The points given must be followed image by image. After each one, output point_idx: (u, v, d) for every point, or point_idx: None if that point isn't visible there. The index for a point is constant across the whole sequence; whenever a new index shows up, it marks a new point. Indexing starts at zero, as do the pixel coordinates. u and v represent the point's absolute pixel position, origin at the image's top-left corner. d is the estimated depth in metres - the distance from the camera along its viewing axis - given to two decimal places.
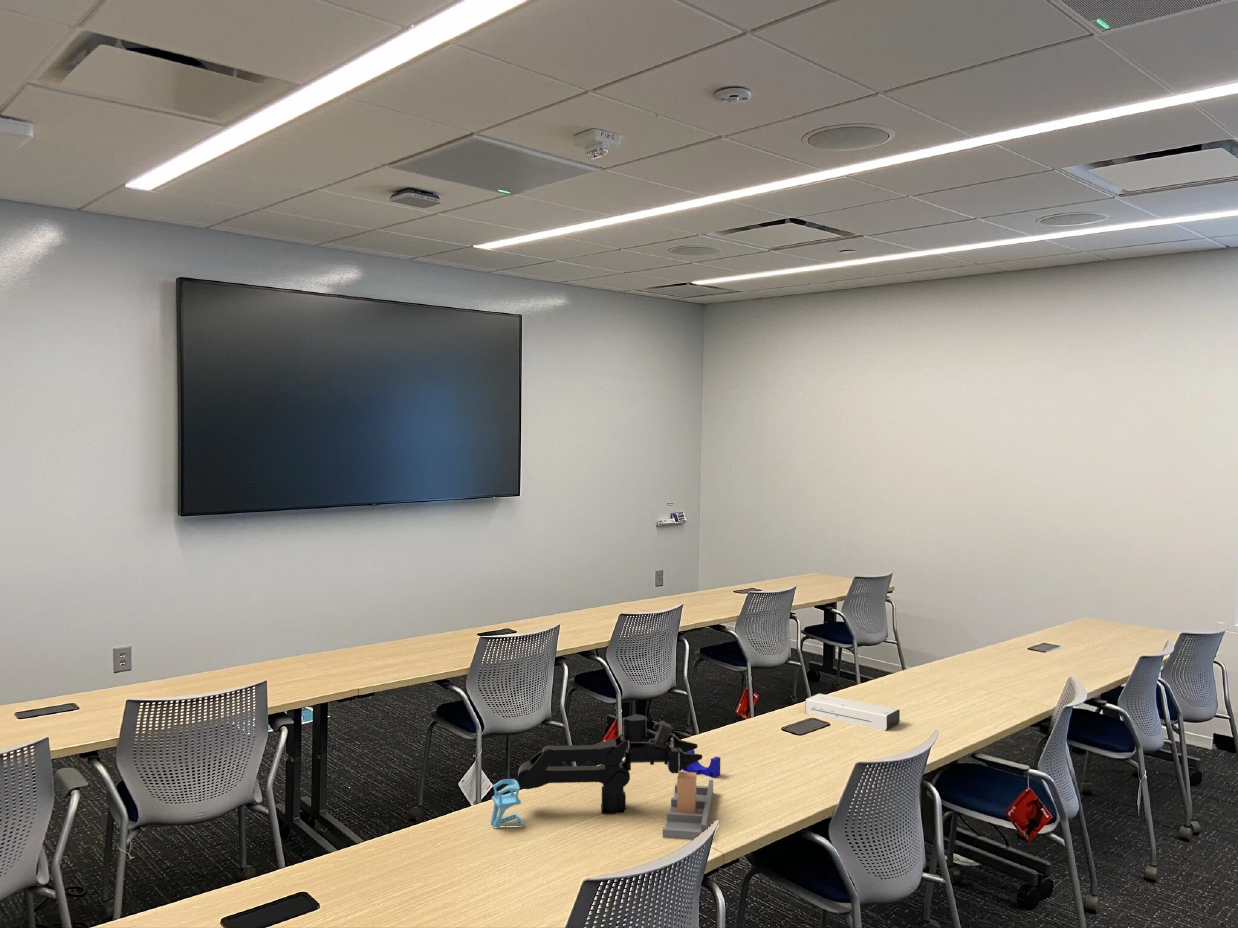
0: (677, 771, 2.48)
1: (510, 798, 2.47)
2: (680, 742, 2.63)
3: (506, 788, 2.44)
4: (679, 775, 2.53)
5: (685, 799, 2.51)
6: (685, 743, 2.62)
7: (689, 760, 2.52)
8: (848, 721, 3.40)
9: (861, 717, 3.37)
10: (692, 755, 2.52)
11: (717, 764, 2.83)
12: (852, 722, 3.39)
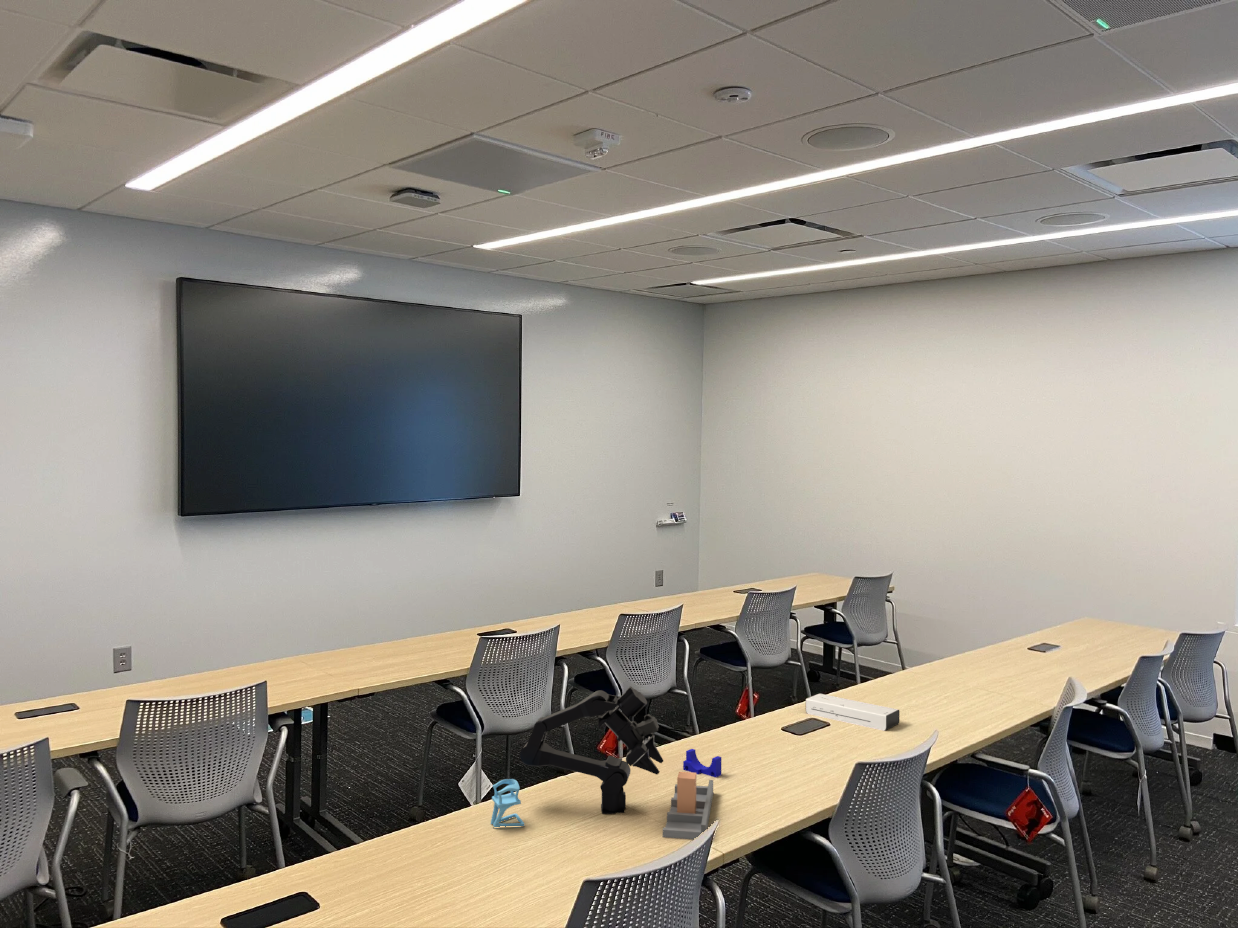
0: (630, 764, 2.46)
1: (510, 798, 2.47)
2: (652, 746, 2.59)
3: (506, 788, 2.44)
4: (679, 775, 2.53)
5: (685, 799, 2.51)
6: (655, 751, 2.59)
7: (647, 765, 2.49)
8: (848, 721, 3.40)
9: (861, 717, 3.36)
10: (652, 765, 2.49)
11: (718, 763, 2.83)
12: (852, 722, 3.39)
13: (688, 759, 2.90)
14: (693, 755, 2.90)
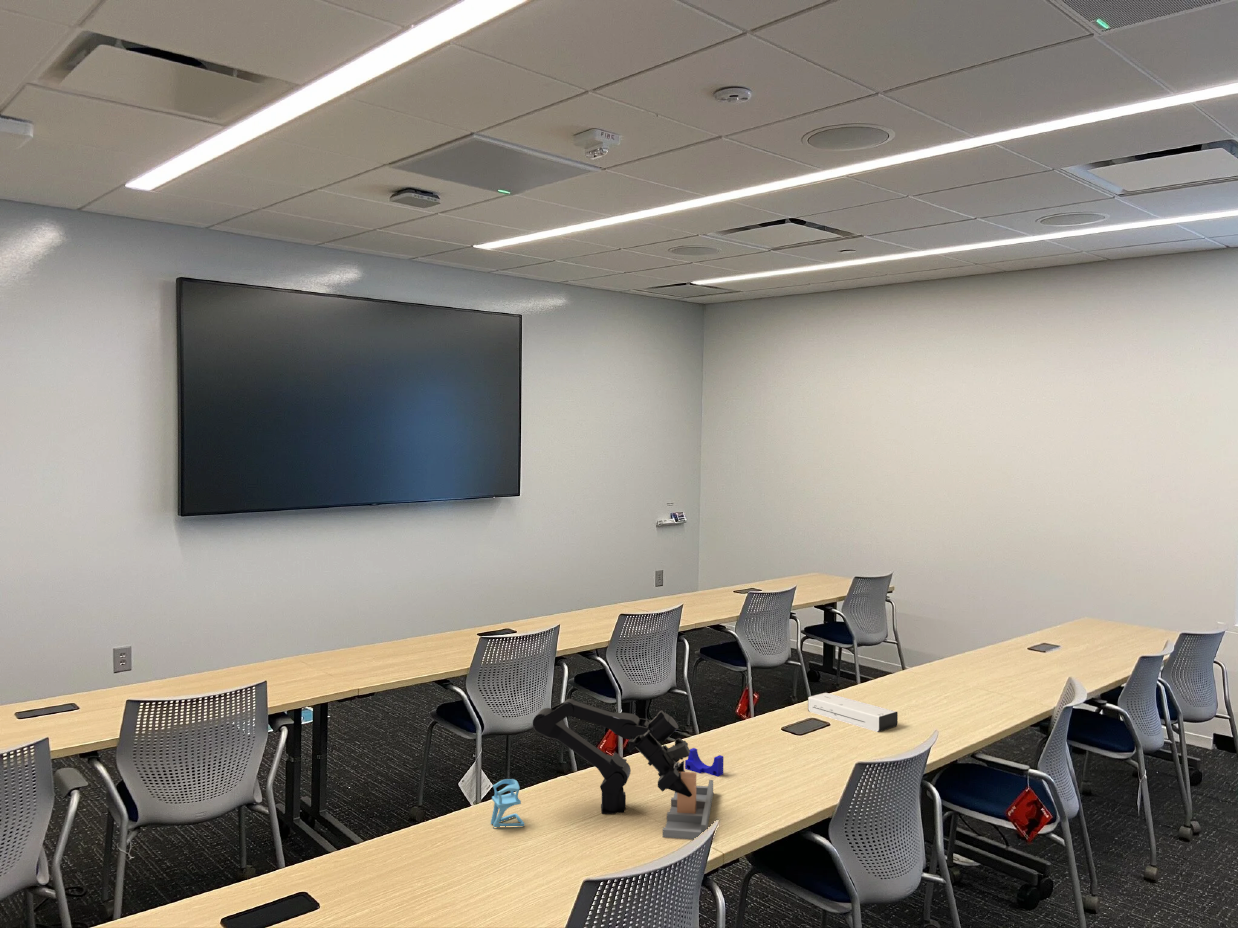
0: (662, 789, 2.45)
1: (510, 798, 2.47)
2: None
3: (506, 788, 2.44)
4: None
5: (685, 799, 2.51)
6: None
7: (679, 788, 2.49)
8: (845, 721, 3.41)
9: (856, 717, 3.36)
10: (685, 787, 2.49)
11: (720, 762, 2.84)
12: (848, 722, 3.39)
13: (690, 758, 2.91)
14: (695, 754, 2.91)
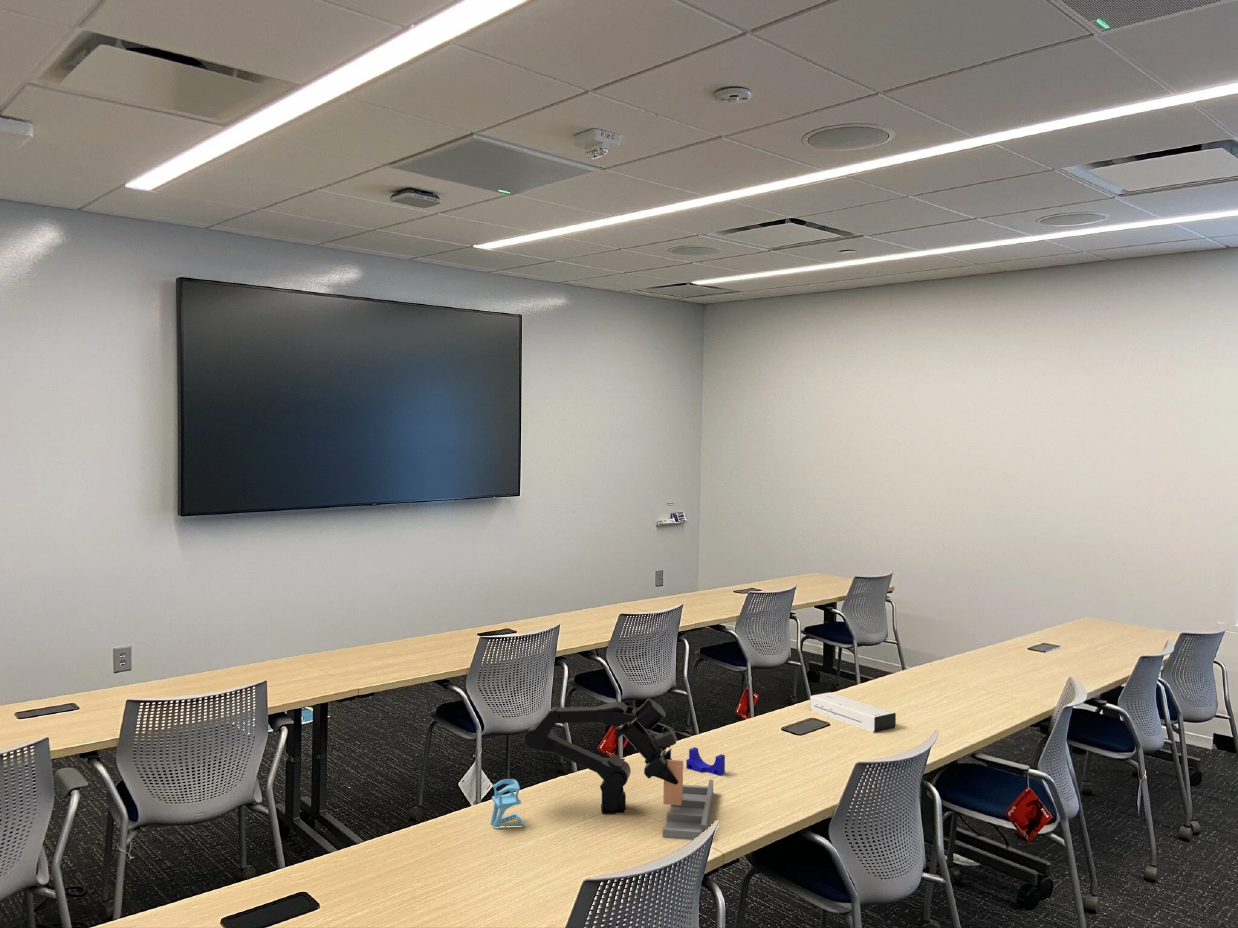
0: (649, 776, 2.45)
1: (510, 798, 2.47)
2: None
3: (506, 788, 2.44)
4: None
5: (671, 787, 2.51)
6: None
7: (666, 775, 2.50)
8: (843, 720, 3.41)
9: (854, 717, 3.36)
10: (671, 775, 2.50)
11: (722, 761, 2.85)
12: (846, 721, 3.39)
13: (691, 758, 2.91)
14: (696, 753, 2.92)
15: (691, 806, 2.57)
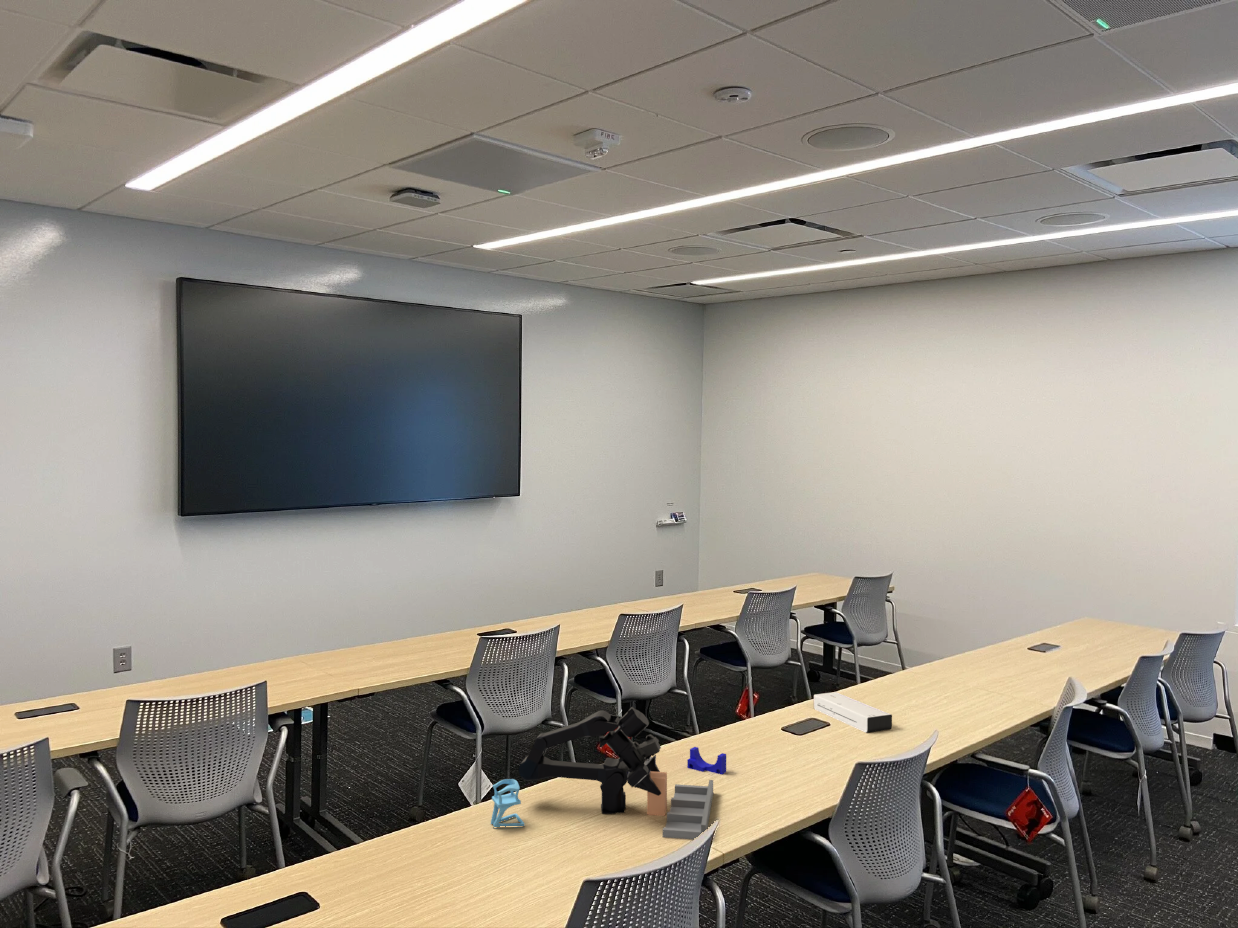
0: (632, 785, 2.46)
1: (510, 798, 2.47)
2: (654, 766, 2.59)
3: (506, 788, 2.44)
4: None
5: (655, 799, 2.52)
6: (657, 771, 2.59)
7: (648, 786, 2.49)
8: (841, 720, 3.42)
9: (850, 717, 3.37)
10: (654, 786, 2.49)
11: (723, 760, 2.86)
12: (844, 721, 3.40)
13: (692, 757, 2.92)
14: (697, 753, 2.92)
15: (691, 806, 2.57)
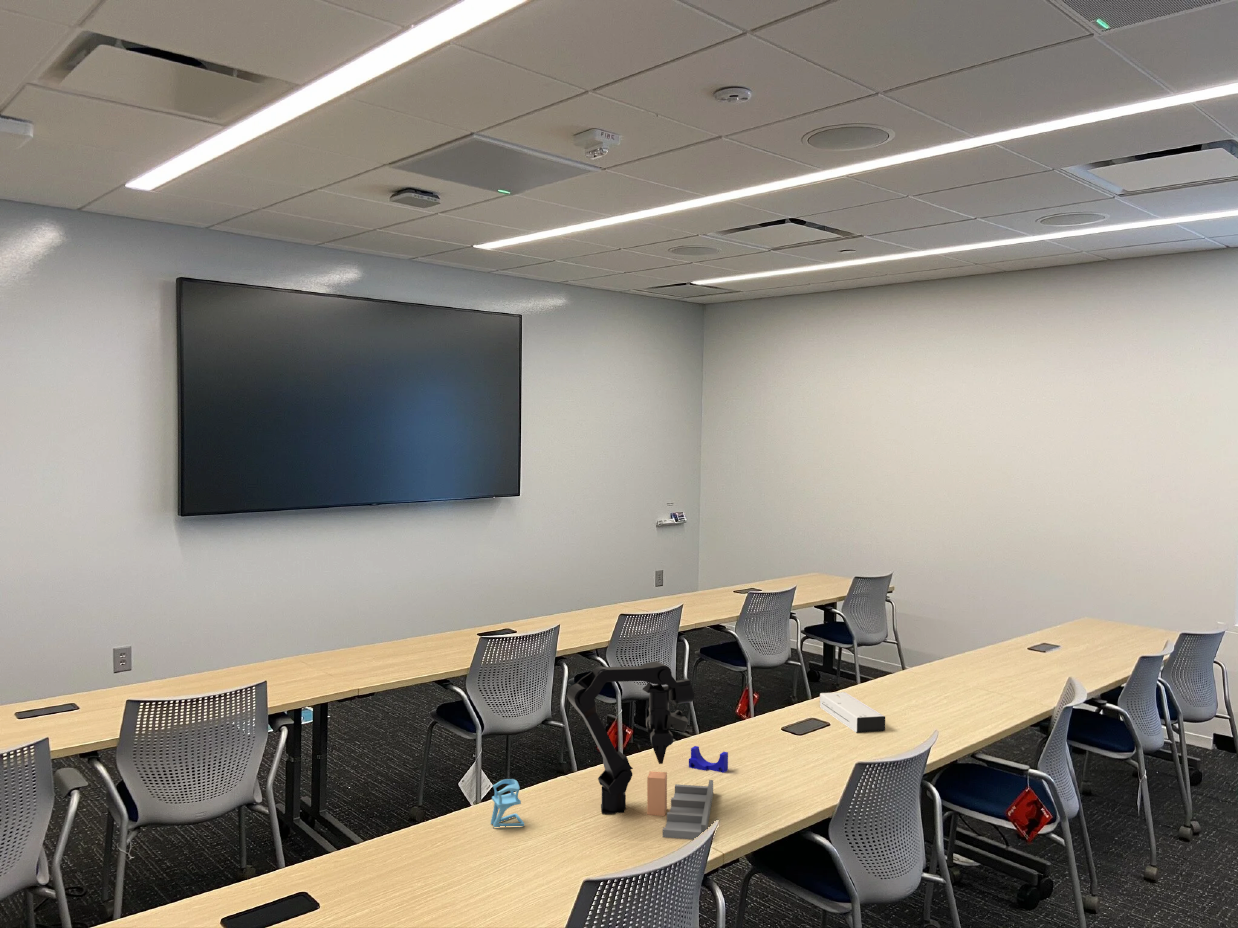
0: (653, 742, 2.53)
1: (510, 798, 2.47)
2: None
3: (506, 788, 2.44)
4: (649, 775, 2.54)
5: (655, 799, 2.52)
6: None
7: (659, 751, 2.56)
8: (839, 719, 3.42)
9: (845, 716, 3.37)
10: (663, 754, 2.57)
11: (725, 759, 2.88)
12: (841, 720, 3.41)
13: (693, 756, 2.92)
14: (697, 752, 2.93)
15: (691, 806, 2.57)
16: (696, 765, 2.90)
